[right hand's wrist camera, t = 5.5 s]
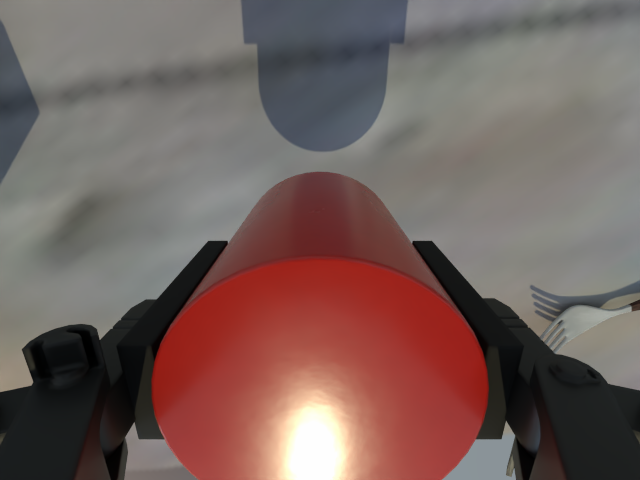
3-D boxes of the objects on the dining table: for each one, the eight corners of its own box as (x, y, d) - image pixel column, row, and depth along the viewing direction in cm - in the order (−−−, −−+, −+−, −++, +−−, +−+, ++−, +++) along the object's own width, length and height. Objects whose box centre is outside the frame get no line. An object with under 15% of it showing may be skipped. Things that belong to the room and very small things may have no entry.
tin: (252, 315, 18) (182, 525, 9) (235, 174, 15) (112, 262, 6) (392, 310, 18) (470, 518, 9) (398, 168, 15) (516, 248, 6)
